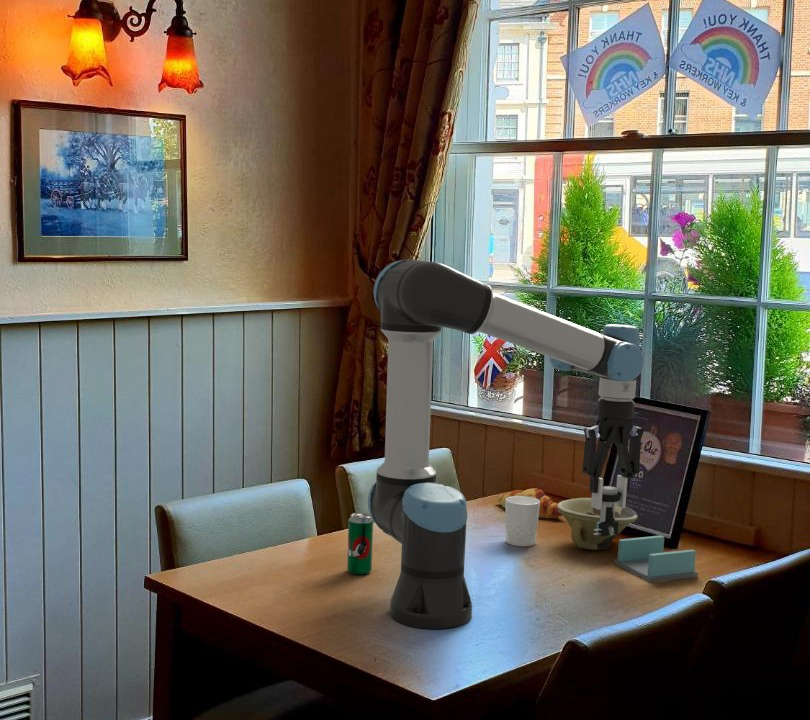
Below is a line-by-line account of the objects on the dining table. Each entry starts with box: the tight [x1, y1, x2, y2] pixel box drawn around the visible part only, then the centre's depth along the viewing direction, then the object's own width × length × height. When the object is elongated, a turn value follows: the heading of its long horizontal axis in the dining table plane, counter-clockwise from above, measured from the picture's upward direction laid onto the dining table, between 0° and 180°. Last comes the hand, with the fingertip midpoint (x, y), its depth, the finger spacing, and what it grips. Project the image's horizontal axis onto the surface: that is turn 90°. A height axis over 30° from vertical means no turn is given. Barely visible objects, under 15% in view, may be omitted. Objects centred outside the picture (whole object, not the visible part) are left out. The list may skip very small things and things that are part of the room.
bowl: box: [557, 497, 639, 552], centre depth 242 cm, size 18×18×10 cm
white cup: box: [504, 496, 540, 547], centre depth 243 cm, size 8×8×10 cm
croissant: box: [497, 488, 564, 519], centre depth 270 cm, size 21×10×8 cm, turn 46°
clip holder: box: [613, 535, 699, 583], centre depth 226 cm, size 12×13×6 cm
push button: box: [594, 485, 621, 536], centre depth 224 cm, size 7×5×10 cm
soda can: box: [346, 512, 374, 576], centre depth 218 cm, size 5×5×12 cm
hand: (608, 506), depth 224 cm, fingers closed on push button, 5 cm apart
